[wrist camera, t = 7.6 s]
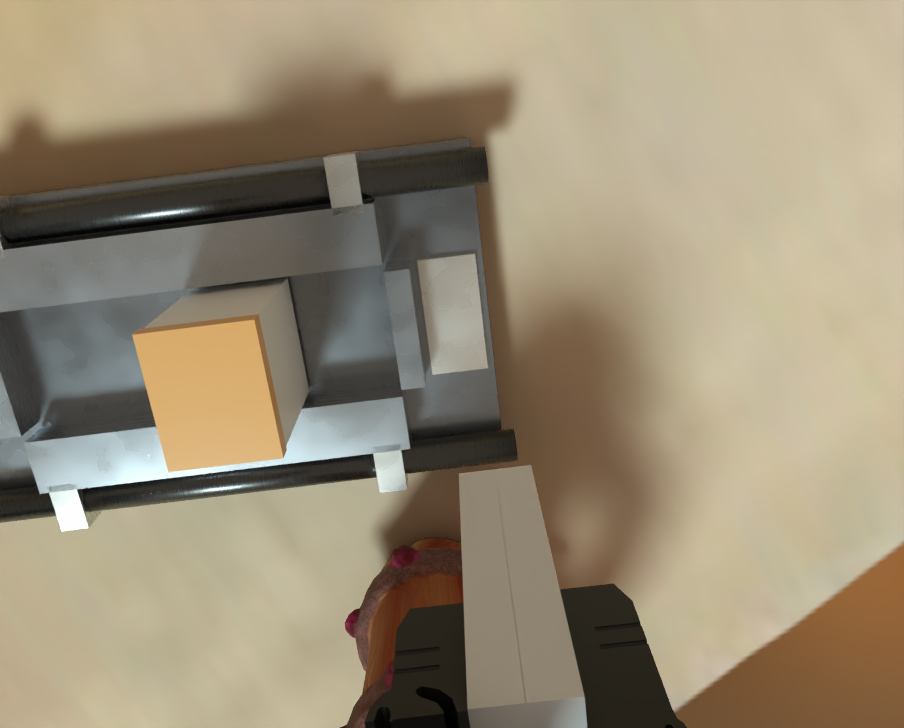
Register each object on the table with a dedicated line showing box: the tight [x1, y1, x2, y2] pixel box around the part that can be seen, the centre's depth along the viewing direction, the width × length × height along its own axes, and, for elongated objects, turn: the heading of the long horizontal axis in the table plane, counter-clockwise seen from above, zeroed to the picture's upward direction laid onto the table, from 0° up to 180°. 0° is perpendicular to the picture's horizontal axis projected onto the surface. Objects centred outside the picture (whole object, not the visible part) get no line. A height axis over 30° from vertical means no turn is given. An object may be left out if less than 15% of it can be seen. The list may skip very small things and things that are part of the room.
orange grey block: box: [132, 278, 309, 472], centre depth 30 cm, size 4×5×7 cm
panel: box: [0, 138, 517, 531], centre depth 34 cm, size 25×14×3 cm, turn 97°
